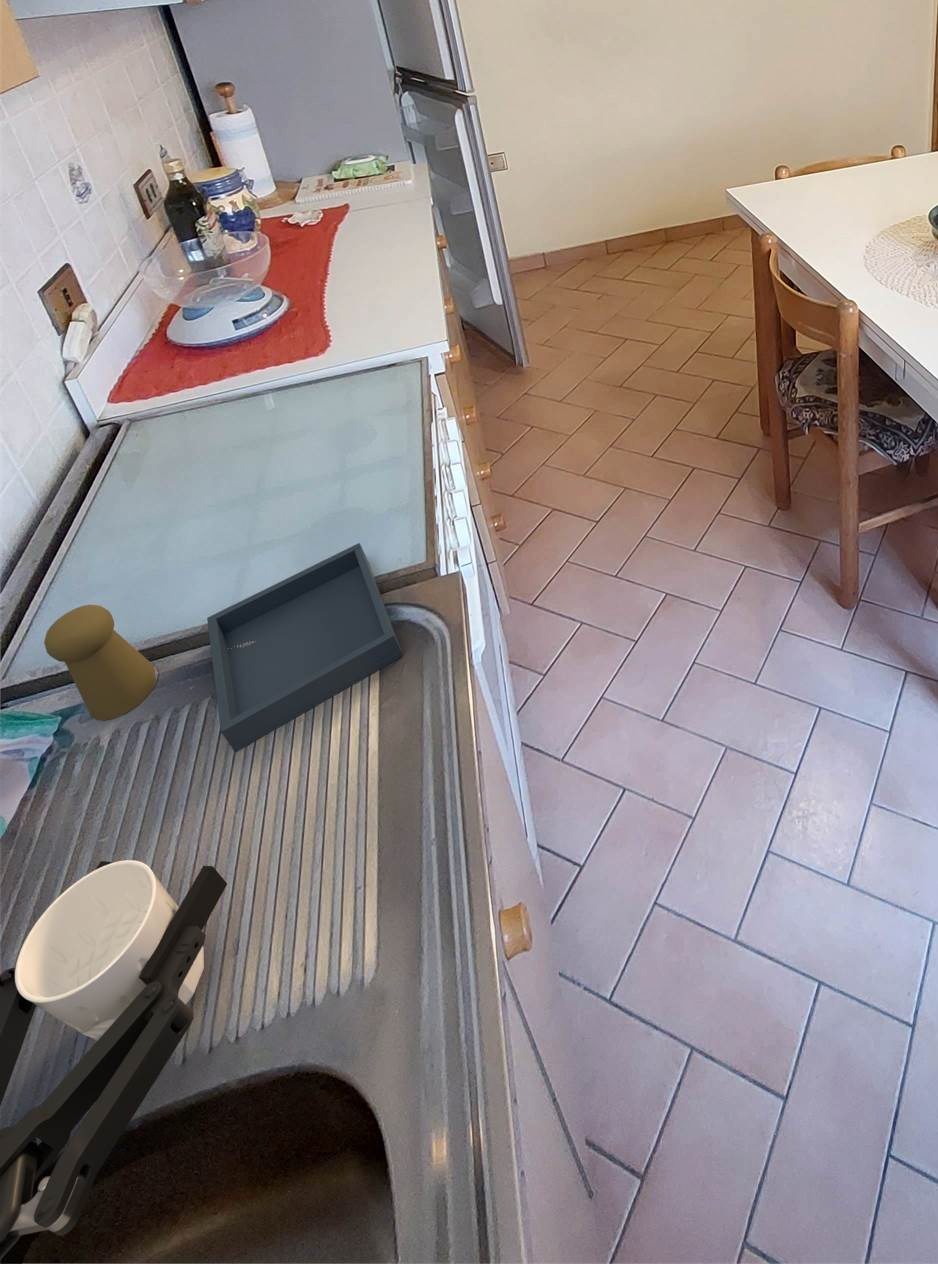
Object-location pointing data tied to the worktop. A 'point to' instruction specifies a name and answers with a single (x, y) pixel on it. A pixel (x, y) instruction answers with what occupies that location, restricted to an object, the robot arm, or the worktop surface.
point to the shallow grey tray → (298, 645)
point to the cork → (100, 661)
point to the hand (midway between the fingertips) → (164, 873)
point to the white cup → (98, 947)
